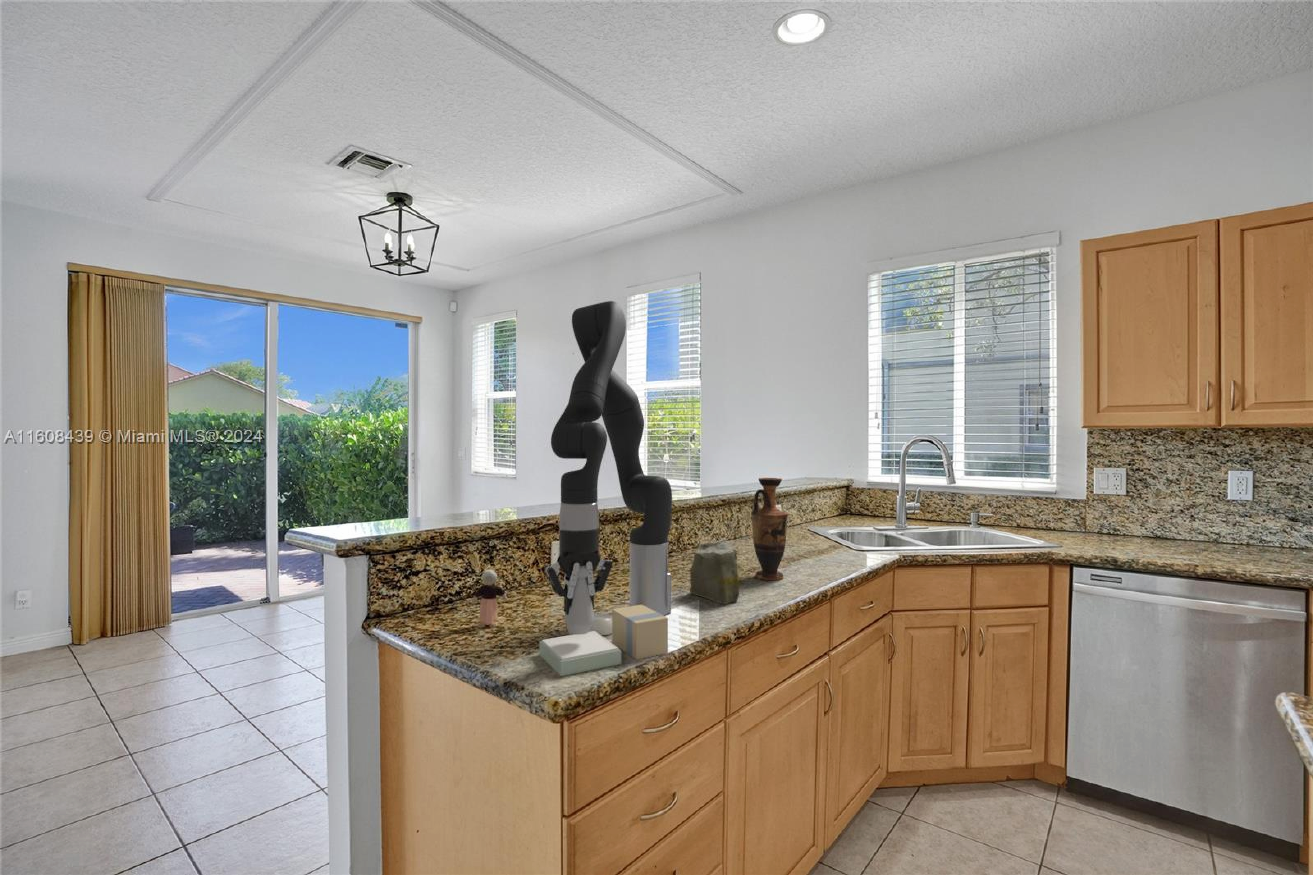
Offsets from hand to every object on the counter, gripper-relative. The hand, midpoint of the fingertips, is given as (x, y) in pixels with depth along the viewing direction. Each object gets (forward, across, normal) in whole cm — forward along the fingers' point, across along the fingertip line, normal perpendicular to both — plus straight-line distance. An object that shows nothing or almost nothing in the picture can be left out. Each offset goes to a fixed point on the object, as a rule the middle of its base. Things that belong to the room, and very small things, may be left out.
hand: (578, 614), depth 118 cm
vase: (+9, -75, -34) cm, 83 cm away
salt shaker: (+3, 0, 0) cm, 3 cm away
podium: (+9, 0, 0) cm, 9 cm away
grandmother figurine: (+9, +10, -29) cm, 32 cm away
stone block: (+9, -50, -24) cm, 56 cm away
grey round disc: (+8, -10, -13) cm, 18 cm away
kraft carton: (+9, -13, 0) cm, 16 cm away
